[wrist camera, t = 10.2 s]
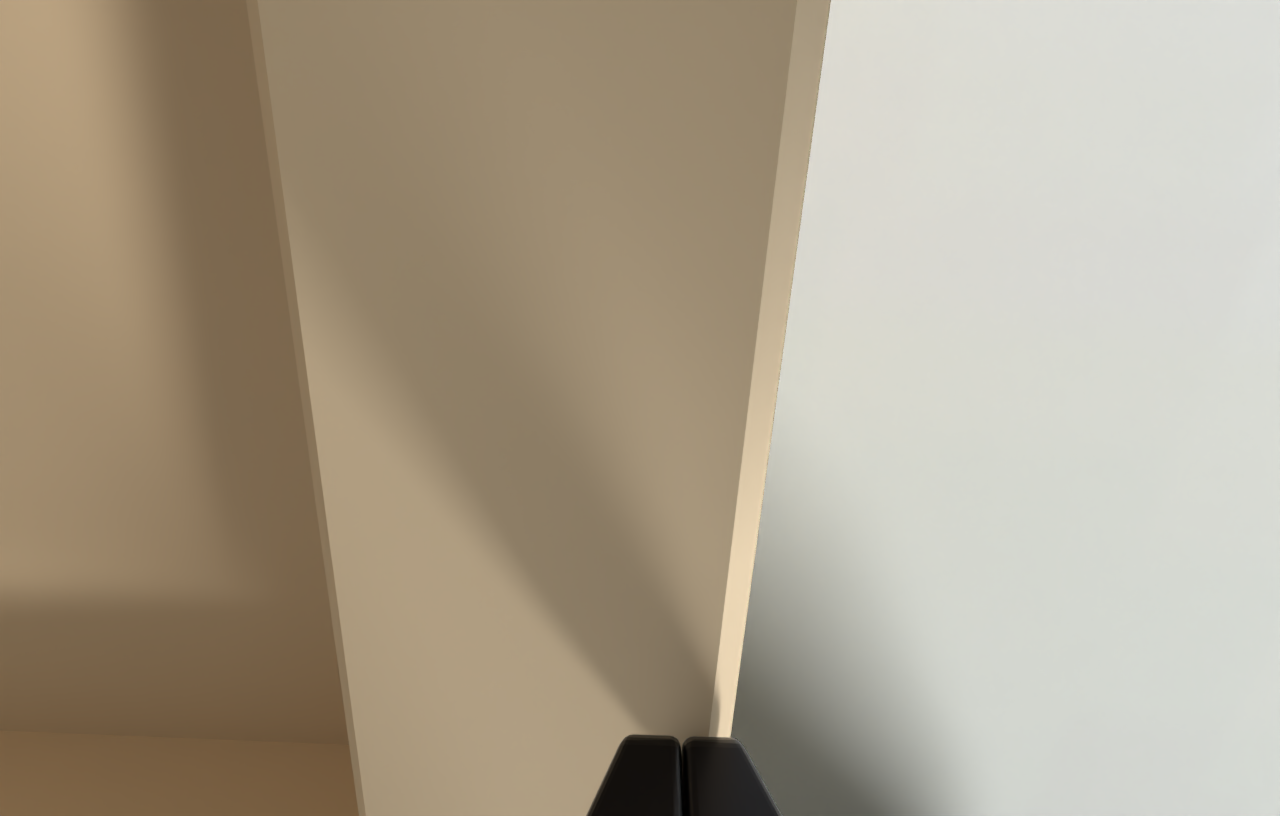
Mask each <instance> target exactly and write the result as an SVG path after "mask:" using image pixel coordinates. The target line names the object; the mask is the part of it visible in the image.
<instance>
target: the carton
mask: <svg viewBox="0 0 1280 816" xmlns="http://www.w3.org/2000/svg"><path fill="white" fill-rule="evenodd" d="M0 816H366V812H365V805H364V797H363V790H362V782H361V775H360V767H359V760H358V752H357V745H356V737H355V730H354V722H353V715H352V707H351V700H350V692H349V685H348V677H347V670H346V662H345V655H344V647H343V639H342V632H341V624H340V617H339V609H338V602H337V594H336V587H335V579H334V572H333V564H332V557H331V549H330V542H329V534H328V527H327V519H326V512H325V504H324V497H323V489H322V482H321V474H320V467H319V459H318V452H317V444H316V437H315V429H314V422H313V414H312V407H311V399H310V392H309V384H308V377H307V369H306V362H305V354H304V347H303V339H302V332H301V324H300V317H299V309H298V302H297V294H296V287H295V279H294V271H293V264H292V256H291V249H290V241H289V234H288V226H287V219H286V211H285V204H284V196H283V189H282V181H281V174H280V166H279V159H278V151H277V144H276V136H275V129H274V121H273V114H272V106H271V99H270V91H269V84H268V76H267V69H266V61H265V54H264V46H263V39H262V31H261V24H260V16H259V9H258V1H257V0H0Z"/></svg>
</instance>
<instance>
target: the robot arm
mask: <svg viewBox="0 0 1280 816" xmlns="http://www.w3.org/2000/svg"><path fill="white" fill-rule="evenodd" d="M586 816H782V815H781V813H780V811H779V809H778V807H777V805H776V804H775V802H774V800H773V798H772V796H771V794H770V793H769V791H768V789H767V787H766V785H765V783H764V782H763V780H762V778H761V776H760V774H759V772H758V771H757V769H756V767H755V765H754V763H753V761H752V760H751V758H750V756H749V754H748V752H747V751H746V749H745V747H744V746H743V745H742V744H741V742H740V741H738V740H737V739H735V738H731V737H703V736H692V737H689V738H687V739H686V740H685V741H684V742H683V745H682V750H681V746H680V742H679V741H678V739H677V738H675V737H673V736H670V735H639V734H632V735H628V736H626V737H625V738H624V739H623V740H622V741H621V743H620V744H619V746H618V748H617V751H616V753H615V755H614V757H613V759H612V761H611V764H610V766H609V768H608V770H607V772H606V774H605V776H604V779H603V781H602V783H601V785H600V787H599V789H598V791H597V794H596V796H595V798H594V800H593V802H592V804H591V806H590V809H589V811H588V813H587V815H586Z"/></svg>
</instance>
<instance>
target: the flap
mask: <svg viewBox="0 0 1280 816" xmlns="http://www.w3.org/2000/svg"><path fill="white" fill-rule="evenodd" d="M257 1H258V9H259V16H260V24H261V31H262V39H263V46H264V54H265V61H266V69H267V76H268V84H269V91H270V99H271V106H272V114H273V121H274V129H275V136H276V144H277V151H278V159H279V166H280V174H281V181H282V189H283V196H284V204H285V211H286V219H287V226H288V234H289V241H290V249H291V256H292V264H293V271H294V279H295V287H296V294H297V302H298V309H299V317H300V324H301V332H302V339H303V347H304V354H305V362H306V369H307V377H308V384H309V392H310V399H311V407H312V414H313V422H314V429H315V437H316V444H317V452H318V459H319V467H320V474H321V482H322V489H323V497H324V504H325V512H326V519H327V527H328V534H329V542H330V549H331V557H332V564H333V572H334V579H335V587H336V594H337V602H338V609H339V617H340V624H341V632H342V639H343V647H344V655H345V662H346V670H347V677H348V685H349V692H350V700H351V707H352V715H353V722H354V730H355V737H356V745H357V752H358V760H359V767H360V775H361V782H362V790H363V797H364V805H365V812H366V816H586V815H587V813H588V811H589V809H590V806H591V804H592V802H593V800H594V798H595V796H596V794H597V791H598V789H599V787H600V785H601V783H602V781H603V779H604V776H605V774H606V772H607V770H608V768H609V766H610V764H611V761H612V759H613V757H614V755H615V753H616V751H617V748H618V746H619V744H620V743H621V741H622V740H623V739H624V738H625V737H626V736H628V735H632V734H639V735H670V736H673V737H675V738H677V739H678V741H679V742H680V746H681V750H682V745H683V742H684V741H685V740H686V739H687V738H689V737H692V736H703V737H730V736H731V729H732V721H733V714H734V707H735V699H736V692H737V685H738V677H739V670H740V663H741V655H742V648H743V641H744V633H745V626H746V619H747V611H748V604H749V597H750V589H751V582H752V575H753V567H754V560H755V553H756V545H757V538H758V531H759V523H760V516H761V509H762V501H763V494H764V487H765V479H766V472H767V465H768V457H769V450H770V443H771V435H772V428H773V421H774V413H775V406H776V399H777V391H778V384H779V376H780V369H781V362H782V354H783V347H784V340H785V332H786V325H787V318H788V310H789V303H790V296H791V288H792V281H793V274H794V266H795V259H796V252H797V244H798V237H799V230H800V222H801V215H802V208H803V200H804V193H805V186H806V178H807V171H808V164H809V156H810V149H811V142H812V134H813V127H814V120H815V112H816V105H817V98H818V90H819V83H820V76H821V68H822V61H823V54H824V46H825V39H826V32H827V24H828V17H829V10H830V2H831V0H257Z"/></svg>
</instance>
